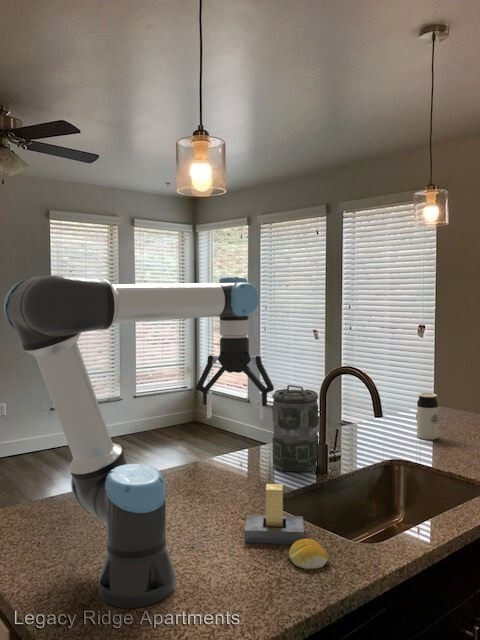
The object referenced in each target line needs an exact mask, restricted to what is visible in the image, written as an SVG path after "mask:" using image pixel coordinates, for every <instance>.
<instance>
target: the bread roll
mask: <svg viewBox="0 0 480 640" xmlns="http://www.w3.org/2000/svg"><path fill="white" fill-rule="evenodd" d="M288 558H289V559H290V561H291V562H292V563H293V564H294V565H295V566H297V567H298V568H302V569H306V570H311V569H313V570H314V569H320V568H323V567H324V566H325V564H327V561H329V554H328V552H327V551H326V550H325V549H324V548H323V546H322V545H321V544H320V543H319V542H318V541H316V540H314V539H311V538H304V539H300V540H298V541H296V542H295V543H294V544H291V547H290V548H289V551H288Z"/></svg>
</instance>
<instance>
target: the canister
mask: <svg viewBox="0 0 480 640" xmlns="http://www.w3.org/2000/svg"><path fill="white" fill-rule="evenodd" d="M290 387H291V388H296V389H290ZM271 397H272V400H273V402H272V423H273V436H272V445H271V446H272V448H271V449H272V465H273V466H275V467H276V468H275V467H274V468H275V469H277V468H278V469H277V470H279V469H280V471H282V470H285V471H286V470H287V471H288V472H303V473H308V472H311V471H314V470H316V468H317V467H316V462H317V444H318V443H319V435H318V425H319V404H318V399H319V395H318V394H317V392H316V391H315V390H311V389H304V387H302V386H299V385H293V384H288V385H287V386H286V388H283V389H278V390H275V391H274V392H273V394H272V396H271ZM307 471H308V472H307Z"/></svg>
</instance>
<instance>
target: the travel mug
mask: <svg viewBox="0 0 480 640" xmlns="http://www.w3.org/2000/svg"><path fill="white" fill-rule="evenodd" d="M417 395H418V400H417V401H416V402H417V403H416V405H417V408H416V409H417V410H416V411H417V412H416V413H417V415H416V416H417V417H416V419H417V421H416V437H418V439H421V440H426V441H428V440H429V441H434V440H436V439H438V437H439V436H438V435H439V433H438V430H439V429H438V425H439V424H438V423H439V421H438V418H439V416H438V413H439V410H438V409H439V407H438V405H439V402H438V401H437V397H438V394H435V393H433V392H432V393H431V392H421V393H417Z"/></svg>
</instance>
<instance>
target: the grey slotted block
mask: <svg viewBox="0 0 480 640" xmlns="http://www.w3.org/2000/svg"><path fill="white" fill-rule="evenodd" d="M304 527H305V526H304V517H303V516H302V515H301V516H298V515H294V516H293V515H283V528H266V514H263V515H262V514H261V515H260V514H259V515H257V514H247V515H246V520H245V526H244V543H245V544H269V543H271V545H272V544H273V545H274V544H276V545H280V544H281V545H293V544H294V543H295V542H296V541H298V540H300V539H305V528H304Z"/></svg>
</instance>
